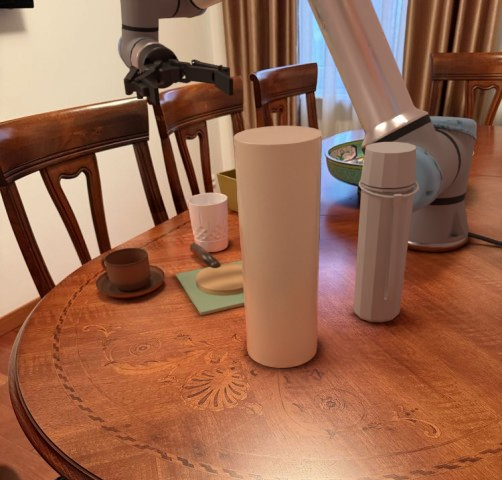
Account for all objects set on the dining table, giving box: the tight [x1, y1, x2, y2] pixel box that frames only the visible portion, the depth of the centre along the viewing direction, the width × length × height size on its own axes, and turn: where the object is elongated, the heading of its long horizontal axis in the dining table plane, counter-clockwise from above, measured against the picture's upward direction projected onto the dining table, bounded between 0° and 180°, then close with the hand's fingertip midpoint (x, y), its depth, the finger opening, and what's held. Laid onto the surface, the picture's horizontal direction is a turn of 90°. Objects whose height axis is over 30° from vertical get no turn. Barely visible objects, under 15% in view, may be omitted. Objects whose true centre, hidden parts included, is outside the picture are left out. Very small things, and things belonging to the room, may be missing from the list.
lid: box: [189, 242, 243, 295], centre depth 95 cm, size 22×11×2 cm, turn 27°
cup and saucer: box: [95, 247, 165, 299], centre depth 91 cm, size 12×12×6 cm
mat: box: [174, 260, 244, 316], centre depth 92 cm, size 16×16×1 cm
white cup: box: [186, 192, 229, 253], centre depth 105 cm, size 8×8×10 cm
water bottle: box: [353, 142, 419, 323], centre depth 73 cm, size 9×8×25 cm
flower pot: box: [216, 167, 238, 213], centre depth 124 cm, size 9×9×9 cm
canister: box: [233, 125, 323, 369], centre depth 66 cm, size 10×10×29 cm
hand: (195, 92), depth 89 cm, fingers open, 13 cm apart
